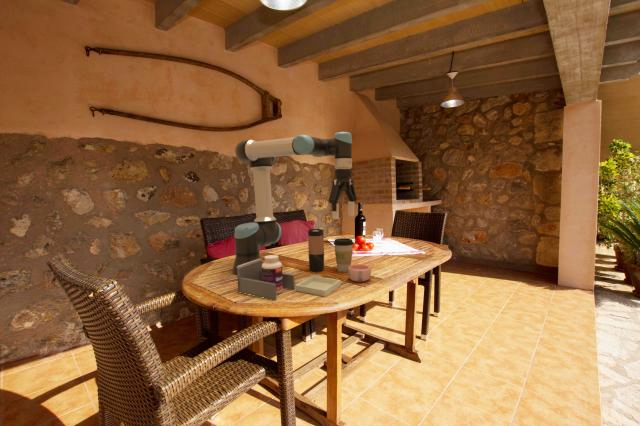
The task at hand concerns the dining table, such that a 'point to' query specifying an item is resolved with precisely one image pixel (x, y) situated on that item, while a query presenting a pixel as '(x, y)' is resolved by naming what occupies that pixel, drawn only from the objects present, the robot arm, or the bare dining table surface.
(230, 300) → the dining table surface
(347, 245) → the coffee cup
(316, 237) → the travel mug
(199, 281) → the dining table surface
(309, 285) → the tray
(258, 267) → the bay
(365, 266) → the mug
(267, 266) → the pill bottle
